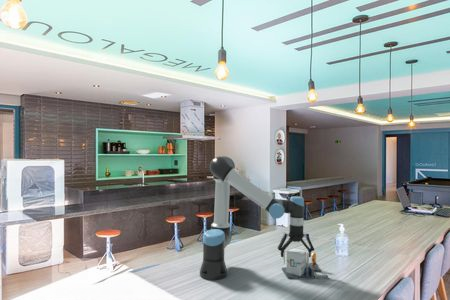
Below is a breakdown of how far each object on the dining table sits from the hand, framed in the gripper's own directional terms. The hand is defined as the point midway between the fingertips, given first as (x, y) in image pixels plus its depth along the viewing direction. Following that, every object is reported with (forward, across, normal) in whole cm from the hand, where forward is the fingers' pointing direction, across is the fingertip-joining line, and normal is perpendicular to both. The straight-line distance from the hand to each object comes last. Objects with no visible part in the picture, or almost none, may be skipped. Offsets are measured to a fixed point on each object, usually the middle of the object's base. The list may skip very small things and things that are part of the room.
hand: (295, 262), depth 171 cm
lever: (+6, +12, +6) cm, 15 cm away
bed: (+6, 0, 0) cm, 6 cm away
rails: (+6, +12, +1) cm, 14 cm away
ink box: (+5, +1, 0) cm, 5 cm away
